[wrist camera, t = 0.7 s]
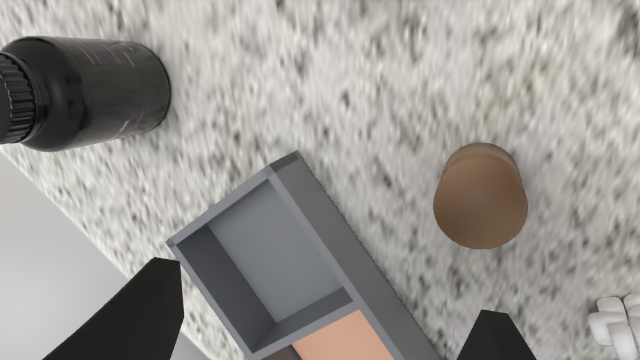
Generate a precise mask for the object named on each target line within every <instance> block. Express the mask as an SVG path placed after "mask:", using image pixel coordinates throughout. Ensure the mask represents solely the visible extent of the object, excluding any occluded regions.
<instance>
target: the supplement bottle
mask: <svg viewBox="0 0 640 360" xmlns="http://www.w3.org/2000/svg"><path fill="white" fill-rule="evenodd" d="M168 102H169V85H168V80H167V77H166V74H165V71H164V69H163V67H162V65H161V64H160V62H159V61H158V59H157V58H156V57H155V56H154V55H153V54H152V53H151V52H150V51H149V50H147V49H146V48H144V47H143V46H141V45H139V44H136V43H133V42H127V41H117V40H100V39H83V38H66V37H49V36H26V37H21V38H18V39H16V40H13V41H12V42H10V43H8V44H7V45H6V46H4V47H3V48H2V49H1V50H0V145H1V144H6V143H21V144H23V145H25V146H26V147H29V148H31V149H34V150H37V151H42V152H57V151H64V150H68V149H73V148H78V147H82V146H87V145H91V144H96V143H101V142H105V141H110V140H115V139H119V138H124V137H128V136H133V135H137V134H141V133H144V132H147V131H149V130H151V129H152V128H154V127H155V126H156V125H157V124H158V123H159V122H160V121H161V120H162V118H163V116H164V114H165V112H166V110H167V107H168Z"/></svg>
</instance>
